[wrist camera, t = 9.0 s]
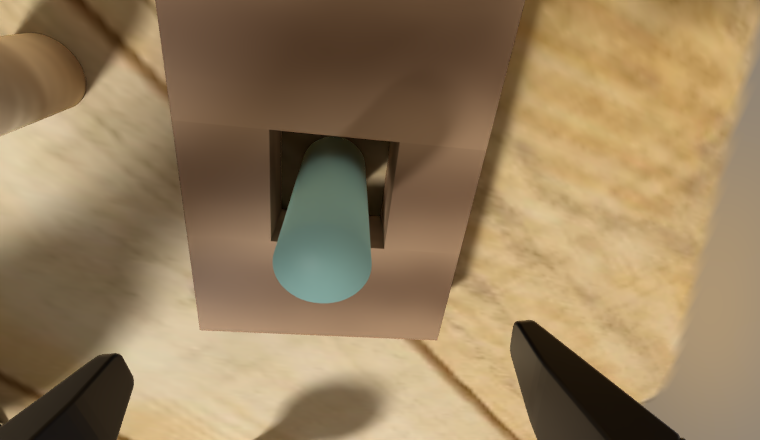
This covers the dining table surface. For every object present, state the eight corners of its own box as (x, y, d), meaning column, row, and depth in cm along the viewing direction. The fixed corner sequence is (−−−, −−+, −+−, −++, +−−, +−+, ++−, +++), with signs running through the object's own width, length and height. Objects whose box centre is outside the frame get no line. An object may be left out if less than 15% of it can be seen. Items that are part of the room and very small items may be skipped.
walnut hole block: (427, 302, 24) (437, 340, 21) (217, 291, 22) (199, 330, 20) (498, -7, 16) (526, -7, 13) (183, -51, 15) (147, -61, 12)
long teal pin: (362, 197, 20) (366, 305, 13) (301, 192, 20) (272, 301, 13) (368, 139, 19) (376, 226, 12) (303, 133, 18) (272, 219, 11)
